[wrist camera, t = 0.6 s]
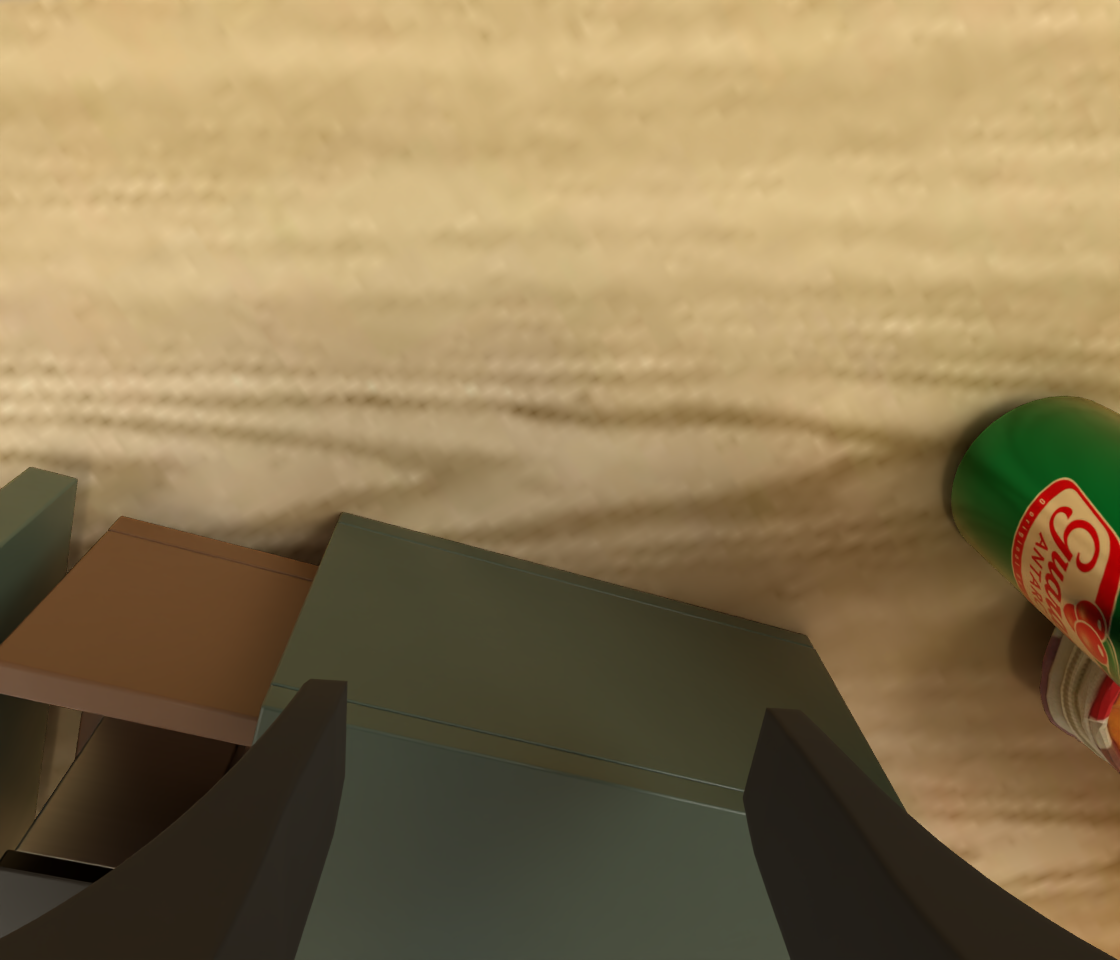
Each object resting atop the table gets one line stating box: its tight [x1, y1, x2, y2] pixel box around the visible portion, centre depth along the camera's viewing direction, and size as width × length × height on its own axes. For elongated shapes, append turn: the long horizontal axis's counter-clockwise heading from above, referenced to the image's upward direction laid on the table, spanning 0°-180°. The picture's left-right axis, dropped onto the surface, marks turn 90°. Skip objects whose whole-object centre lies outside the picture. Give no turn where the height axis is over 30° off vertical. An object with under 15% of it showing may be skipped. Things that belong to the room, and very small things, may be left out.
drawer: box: [0, 467, 319, 859], centre depth 22 cm, size 18×13×7 cm
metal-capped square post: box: [0, 716, 246, 938], centre depth 21 cm, size 4×4×6 cm
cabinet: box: [251, 512, 907, 960], centre depth 24 cm, size 14×14×8 cm
